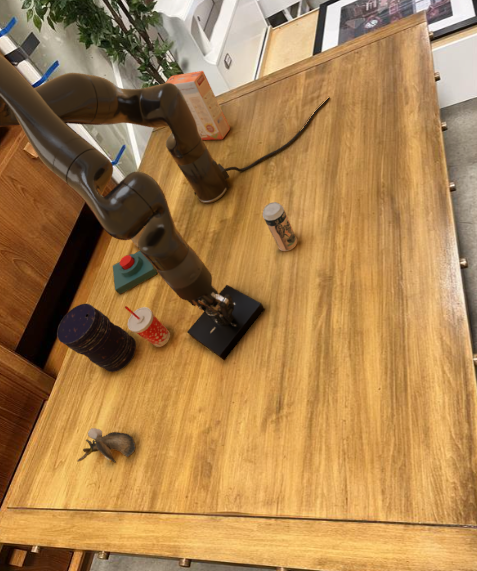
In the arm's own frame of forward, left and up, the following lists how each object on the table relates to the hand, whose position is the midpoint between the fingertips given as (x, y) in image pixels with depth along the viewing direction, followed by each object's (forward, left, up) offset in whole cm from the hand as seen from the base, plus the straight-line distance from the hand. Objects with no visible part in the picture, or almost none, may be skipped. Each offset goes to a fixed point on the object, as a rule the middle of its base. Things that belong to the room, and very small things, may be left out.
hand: (221, 317), depth 83 cm
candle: (+8, -44, -3) cm, 45 cm away
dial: (0, 0, 0) cm, 0 cm away
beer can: (-22, -9, -3) cm, 24 cm away
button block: (+14, -34, -3) cm, 37 cm away
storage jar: (+26, -12, -3) cm, 29 cm away
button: (+14, -34, +1) cm, 37 cm away
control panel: (0, 0, -3) cm, 3 cm away
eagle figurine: (+33, +10, -3) cm, 34 cm away
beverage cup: (+15, -8, -3) cm, 17 cm away
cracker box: (-30, -73, -3) cm, 79 cm away
